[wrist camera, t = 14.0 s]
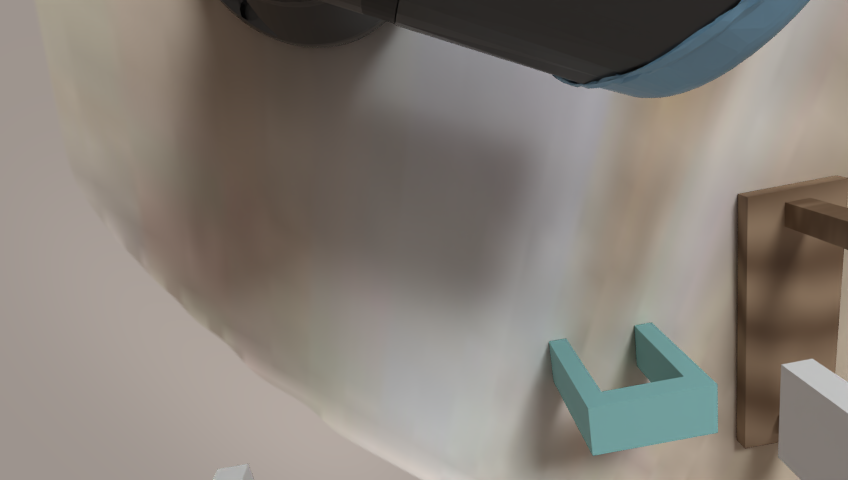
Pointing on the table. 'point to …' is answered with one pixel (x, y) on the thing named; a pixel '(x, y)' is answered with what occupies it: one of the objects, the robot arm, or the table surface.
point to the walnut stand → (786, 292)
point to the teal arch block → (638, 397)
